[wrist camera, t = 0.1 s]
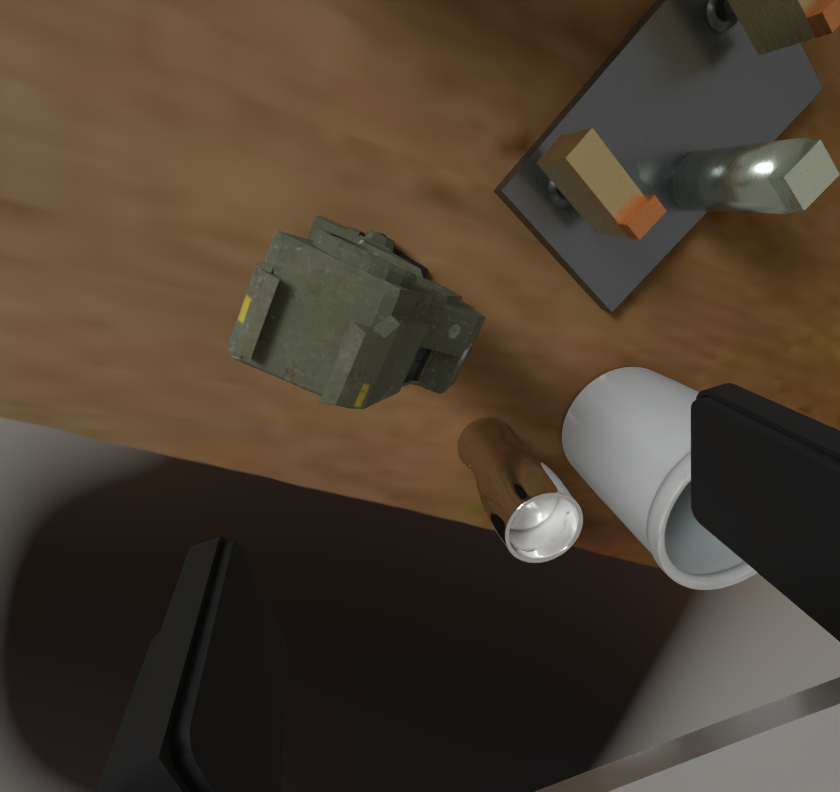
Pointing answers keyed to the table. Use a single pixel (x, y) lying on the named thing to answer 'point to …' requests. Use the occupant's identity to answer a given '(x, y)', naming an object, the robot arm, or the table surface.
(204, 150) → the table surface
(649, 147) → the level plate
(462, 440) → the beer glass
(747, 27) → the knob
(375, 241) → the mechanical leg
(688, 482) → the utensil holder
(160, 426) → the table surface
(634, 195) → the knob
